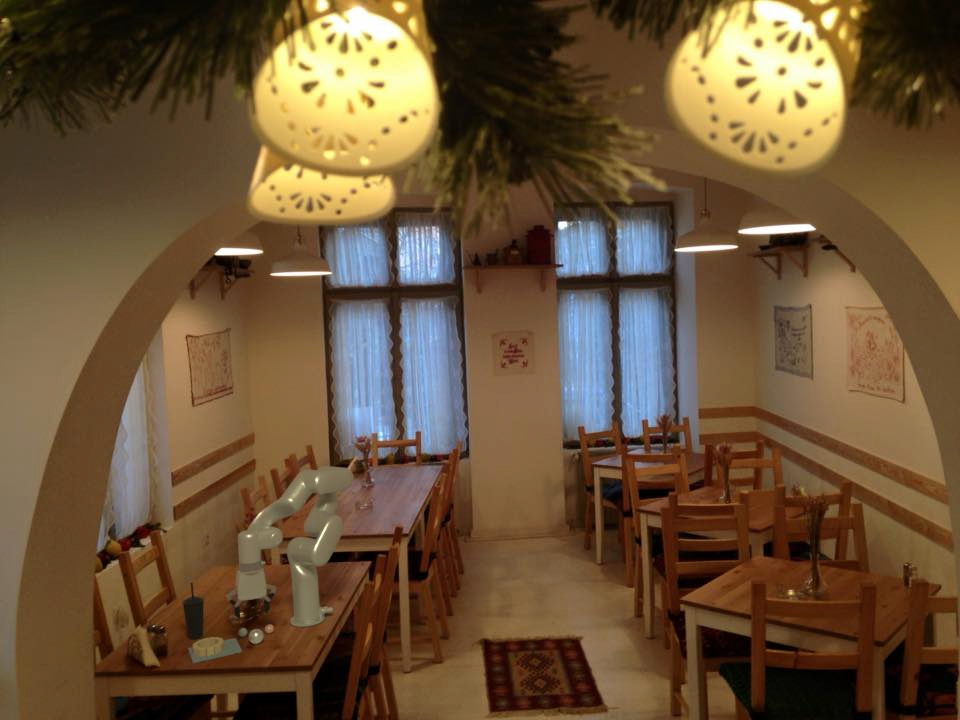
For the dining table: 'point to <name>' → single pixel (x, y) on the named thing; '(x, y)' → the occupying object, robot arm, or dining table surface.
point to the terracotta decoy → (269, 628)
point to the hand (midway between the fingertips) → (252, 614)
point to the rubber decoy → (242, 632)
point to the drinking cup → (194, 615)
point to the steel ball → (256, 636)
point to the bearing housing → (213, 648)
